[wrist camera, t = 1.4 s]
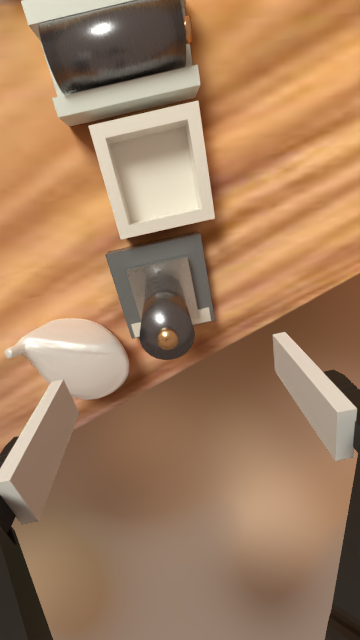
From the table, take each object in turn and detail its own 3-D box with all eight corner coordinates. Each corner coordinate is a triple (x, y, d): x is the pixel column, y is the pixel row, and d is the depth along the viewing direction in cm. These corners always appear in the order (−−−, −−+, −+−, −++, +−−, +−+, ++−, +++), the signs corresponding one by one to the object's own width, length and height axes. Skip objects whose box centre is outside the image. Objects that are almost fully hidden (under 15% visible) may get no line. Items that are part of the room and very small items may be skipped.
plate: (142, 322, 34) (142, 325, 33) (127, 268, 31) (126, 270, 30) (197, 310, 34) (198, 313, 33) (186, 255, 31) (187, 257, 30)
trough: (69, 126, 27) (58, 117, 24) (38, 26, 24) (20, 0, 21) (195, 97, 27) (200, 84, 24) (180, -8, 24) (183, -38, 21)
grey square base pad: (133, 331, 37) (131, 339, 35) (108, 251, 33) (104, 255, 31) (212, 314, 37) (215, 321, 35) (198, 231, 33) (200, 233, 30)
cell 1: (70, 101, 26) (54, 83, 22) (52, 41, 24) (31, 9, 20) (191, 73, 26) (198, 50, 22) (182, 10, 24) (187, -28, 20)
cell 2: (150, 314, 33) (147, 370, 22) (140, 279, 31) (132, 321, 20) (185, 306, 33) (200, 358, 22) (178, 270, 31) (190, 308, 20)
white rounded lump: (13, 318, 27) (92, 411, 26) (89, 291, 36) (149, 360, 35) (-12, 369, 33) (52, 446, 32) (59, 335, 42) (110, 394, 41)
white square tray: (124, 235, 32) (120, 239, 29) (96, 134, 28) (88, 125, 25) (209, 216, 32) (215, 218, 29) (193, 111, 28) (198, 100, 25)
